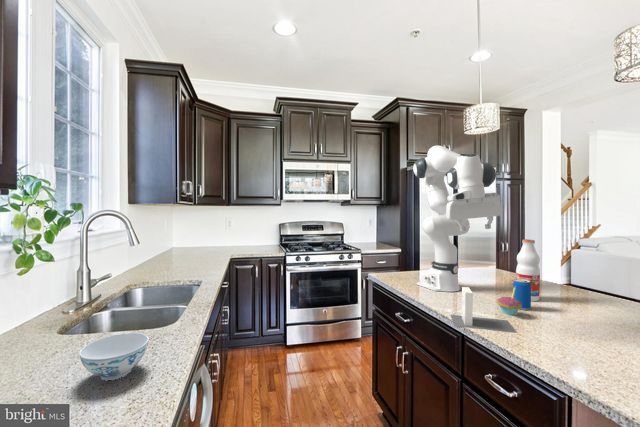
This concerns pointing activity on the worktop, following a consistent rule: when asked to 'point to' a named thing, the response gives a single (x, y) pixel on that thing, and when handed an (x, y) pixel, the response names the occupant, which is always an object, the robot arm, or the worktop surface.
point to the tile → (467, 305)
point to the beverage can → (523, 292)
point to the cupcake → (509, 304)
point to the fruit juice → (529, 267)
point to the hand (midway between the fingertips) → (475, 229)
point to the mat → (484, 324)
